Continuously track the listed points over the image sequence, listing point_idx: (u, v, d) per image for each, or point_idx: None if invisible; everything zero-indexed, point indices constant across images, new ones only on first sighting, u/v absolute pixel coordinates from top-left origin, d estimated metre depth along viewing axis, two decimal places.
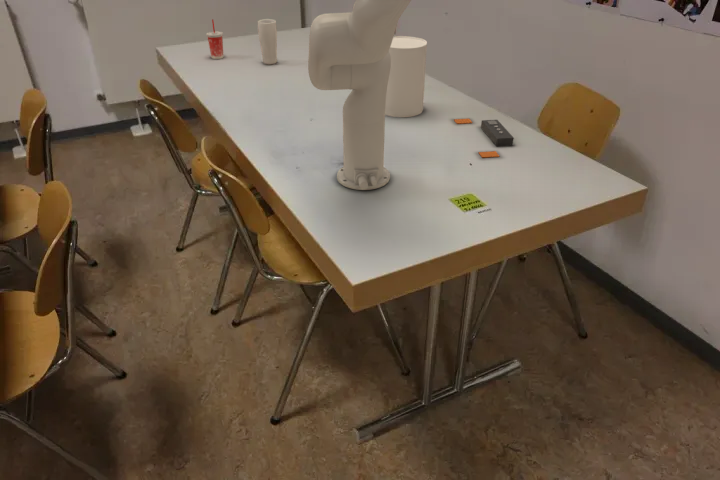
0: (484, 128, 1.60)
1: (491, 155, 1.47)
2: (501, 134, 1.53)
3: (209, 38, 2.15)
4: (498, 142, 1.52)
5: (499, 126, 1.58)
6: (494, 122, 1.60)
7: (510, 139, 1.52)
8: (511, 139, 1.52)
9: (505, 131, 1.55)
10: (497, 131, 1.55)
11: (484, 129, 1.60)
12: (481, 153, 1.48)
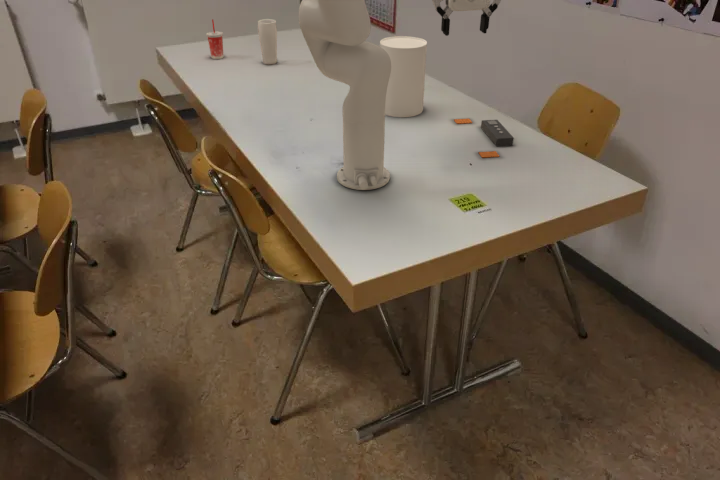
0: (484, 128, 1.60)
1: (491, 155, 1.47)
2: (501, 134, 1.53)
3: (209, 38, 2.15)
4: (498, 142, 1.52)
5: (499, 126, 1.58)
6: (494, 122, 1.60)
7: (510, 139, 1.52)
8: (511, 139, 1.52)
9: (505, 131, 1.55)
10: (497, 131, 1.55)
11: (484, 129, 1.60)
12: (481, 153, 1.48)
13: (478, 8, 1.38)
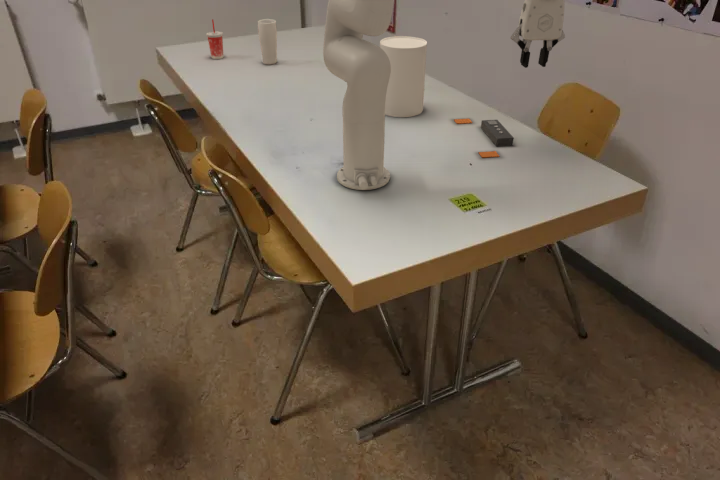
0: (484, 128, 1.60)
1: (491, 155, 1.47)
2: (501, 134, 1.53)
3: (209, 38, 2.15)
4: (498, 142, 1.52)
5: (499, 126, 1.58)
6: (494, 122, 1.60)
7: (510, 139, 1.52)
8: (511, 139, 1.52)
9: (505, 131, 1.55)
10: (497, 131, 1.55)
11: (484, 129, 1.60)
12: (481, 153, 1.48)
13: (550, 38, 1.42)
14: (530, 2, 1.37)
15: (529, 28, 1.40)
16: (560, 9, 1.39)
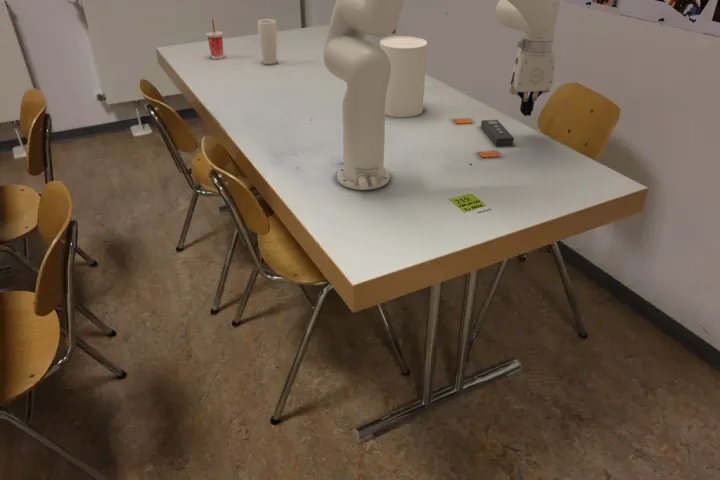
0: (484, 128, 1.60)
1: (491, 155, 1.47)
2: (501, 134, 1.53)
3: (209, 38, 2.15)
4: (498, 142, 1.52)
5: (499, 126, 1.58)
6: (494, 122, 1.60)
7: (510, 139, 1.52)
8: (511, 139, 1.52)
9: (505, 131, 1.55)
10: (497, 131, 1.55)
11: (484, 129, 1.60)
12: (481, 153, 1.48)
13: (541, 89, 1.49)
14: (522, 58, 1.45)
15: (521, 81, 1.47)
16: (551, 63, 1.46)
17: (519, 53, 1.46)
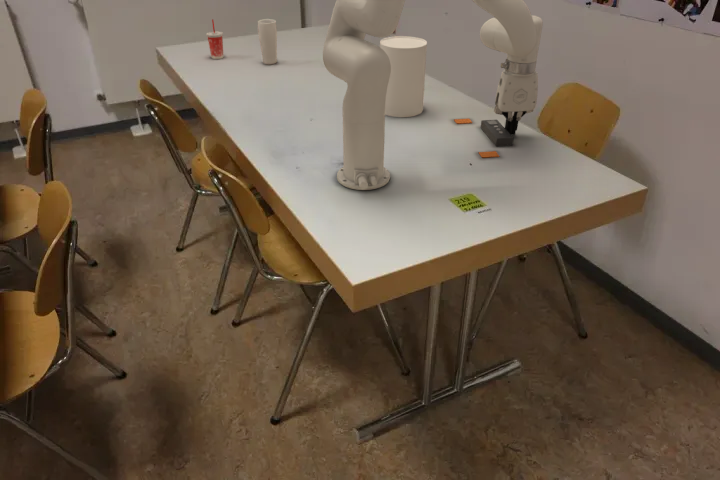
0: (483, 128, 1.60)
1: (491, 155, 1.47)
2: (501, 134, 1.53)
3: (209, 38, 2.15)
4: (497, 142, 1.52)
5: (499, 126, 1.58)
6: (494, 122, 1.60)
7: (510, 139, 1.52)
8: (511, 139, 1.52)
9: (505, 131, 1.55)
10: (497, 131, 1.55)
11: (484, 129, 1.60)
12: (481, 153, 1.48)
13: (525, 109, 1.52)
14: (505, 79, 1.47)
15: (505, 101, 1.50)
16: (534, 84, 1.48)
17: (503, 74, 1.48)
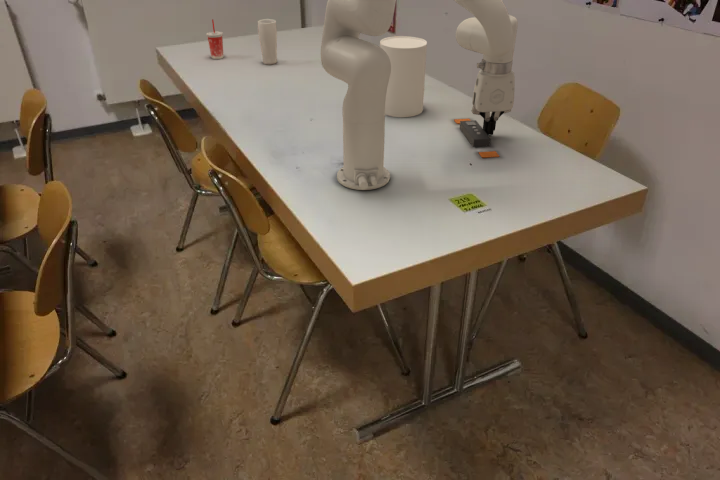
0: (462, 129, 1.60)
1: (491, 155, 1.47)
2: (478, 135, 1.53)
3: (209, 38, 2.15)
4: (474, 143, 1.51)
5: (477, 127, 1.57)
6: (472, 123, 1.59)
7: (487, 140, 1.51)
8: (488, 140, 1.51)
9: (483, 132, 1.55)
10: (475, 132, 1.55)
11: (462, 130, 1.60)
12: (481, 153, 1.48)
13: (502, 109, 1.51)
14: (482, 79, 1.46)
15: (482, 101, 1.49)
16: (511, 84, 1.48)
17: (479, 74, 1.47)
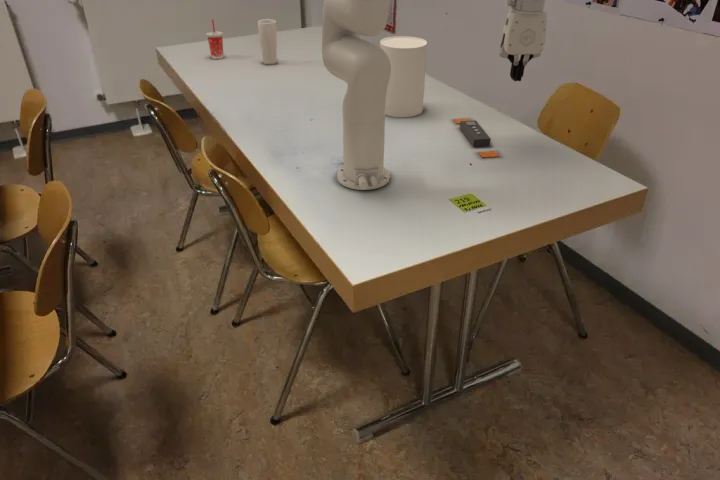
0: (462, 129, 1.60)
1: (491, 155, 1.47)
2: (478, 135, 1.53)
3: (209, 38, 2.15)
4: (474, 143, 1.51)
5: (477, 127, 1.57)
6: (472, 123, 1.59)
7: (487, 140, 1.51)
8: (488, 140, 1.51)
9: (483, 132, 1.55)
10: (475, 132, 1.55)
11: (462, 130, 1.60)
12: (481, 153, 1.48)
13: (532, 52, 1.43)
14: (512, 17, 1.39)
15: (511, 42, 1.41)
16: (542, 25, 1.40)
17: (510, 13, 1.40)
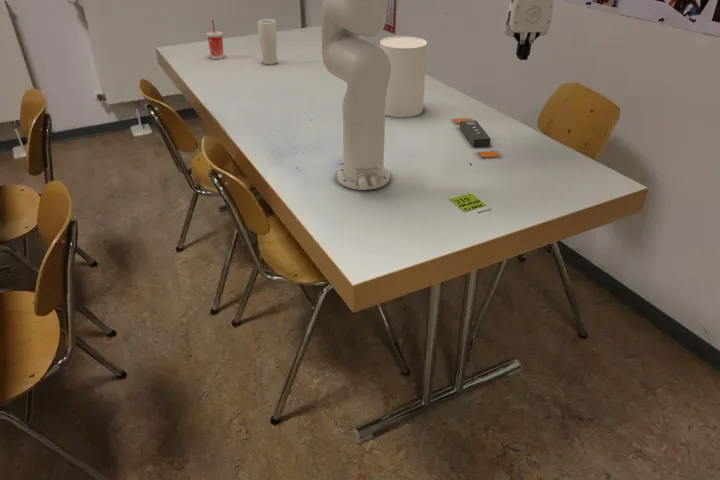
0: (462, 129, 1.60)
1: (491, 155, 1.47)
2: (478, 135, 1.53)
3: (209, 38, 2.15)
4: (474, 143, 1.51)
5: (477, 127, 1.57)
6: (472, 123, 1.59)
7: (487, 140, 1.51)
8: (488, 140, 1.51)
9: (483, 132, 1.55)
10: (475, 132, 1.55)
11: (462, 130, 1.60)
12: (481, 153, 1.48)
13: (539, 30, 1.41)
14: None
15: (517, 20, 1.39)
16: (549, 1, 1.37)
17: None
